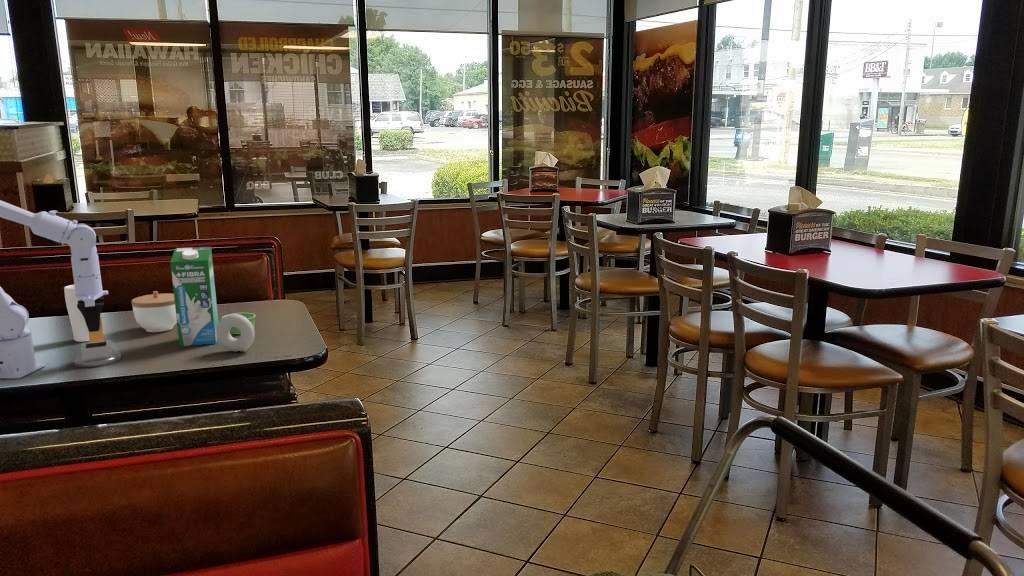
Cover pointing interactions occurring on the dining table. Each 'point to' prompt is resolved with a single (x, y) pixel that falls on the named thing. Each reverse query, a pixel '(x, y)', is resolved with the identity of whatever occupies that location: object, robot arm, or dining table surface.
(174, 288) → the milk carton
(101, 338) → the orange block
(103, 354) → the grey square frame
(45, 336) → the dining table surface
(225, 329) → the donut
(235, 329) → the ramekin
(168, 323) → the lidded bowl
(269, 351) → the dining table surface
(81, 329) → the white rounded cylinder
